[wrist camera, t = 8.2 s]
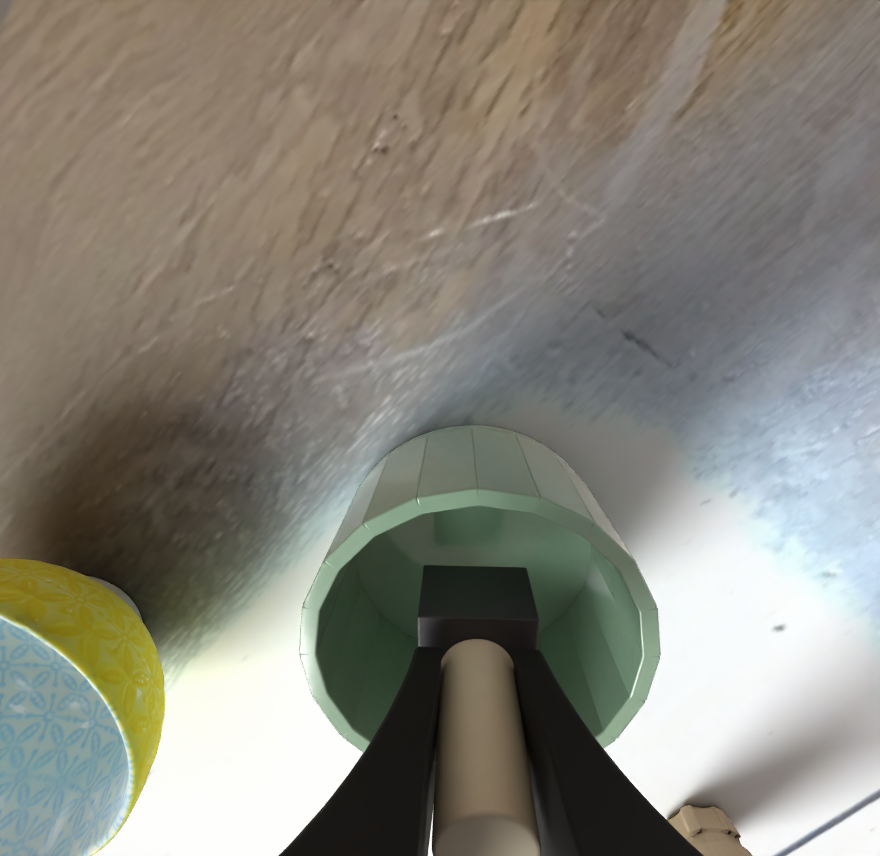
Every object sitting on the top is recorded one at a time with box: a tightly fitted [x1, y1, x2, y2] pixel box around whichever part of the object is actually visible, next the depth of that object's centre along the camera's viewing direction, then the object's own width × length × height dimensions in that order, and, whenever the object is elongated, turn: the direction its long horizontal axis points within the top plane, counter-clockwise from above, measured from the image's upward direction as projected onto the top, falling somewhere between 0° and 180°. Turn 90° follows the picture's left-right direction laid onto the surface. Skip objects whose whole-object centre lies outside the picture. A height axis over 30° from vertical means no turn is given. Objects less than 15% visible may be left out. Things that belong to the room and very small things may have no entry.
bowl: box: [0, 558, 165, 856], centre depth 18 cm, size 11×12×6 cm
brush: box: [418, 565, 541, 856], centre depth 12 cm, size 3×3×7 cm
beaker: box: [299, 425, 660, 753], centre depth 17 cm, size 10×10×6 cm
